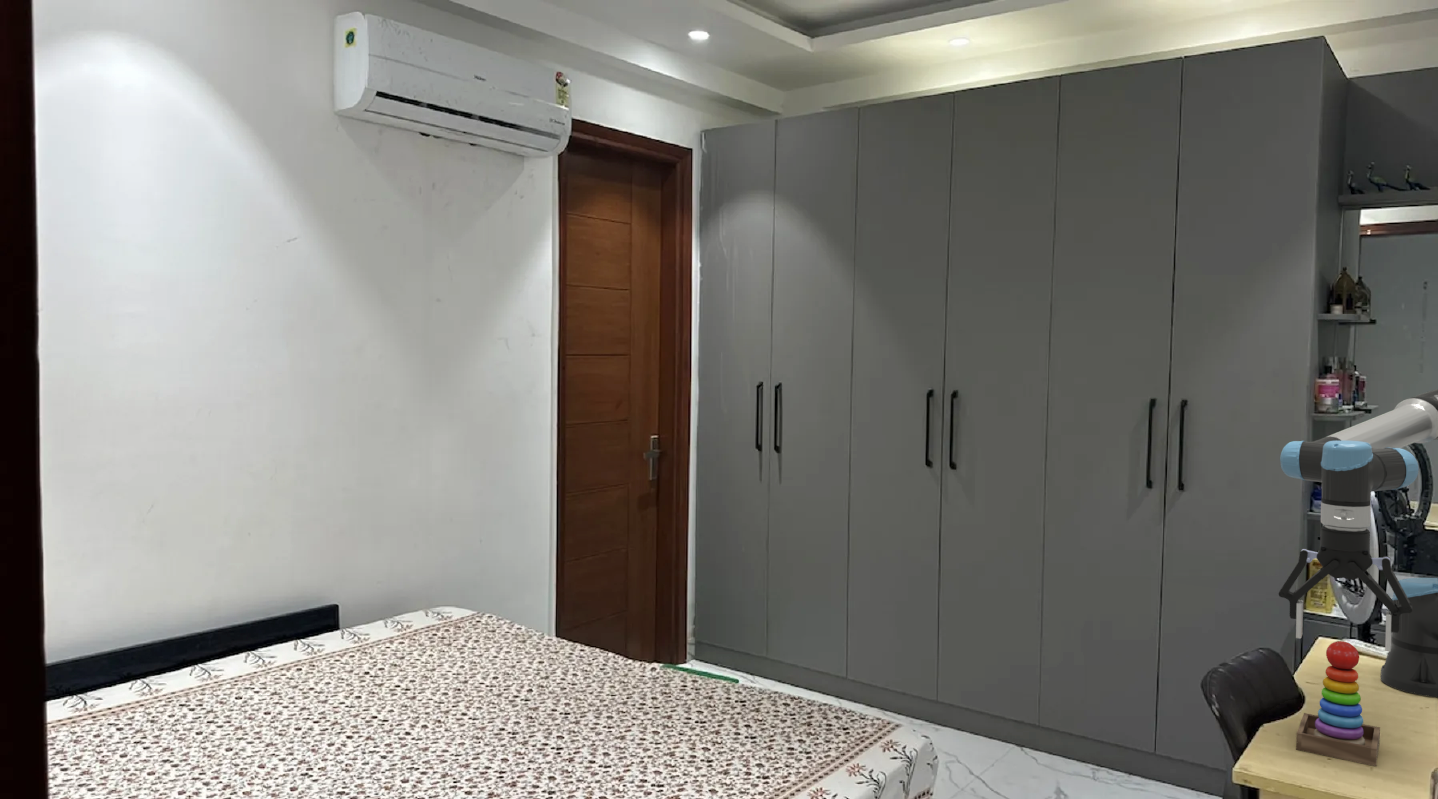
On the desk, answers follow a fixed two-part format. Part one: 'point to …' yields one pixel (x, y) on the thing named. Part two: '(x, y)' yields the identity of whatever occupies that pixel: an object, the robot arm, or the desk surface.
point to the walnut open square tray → (1338, 743)
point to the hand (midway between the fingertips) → (1342, 643)
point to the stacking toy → (1341, 697)
